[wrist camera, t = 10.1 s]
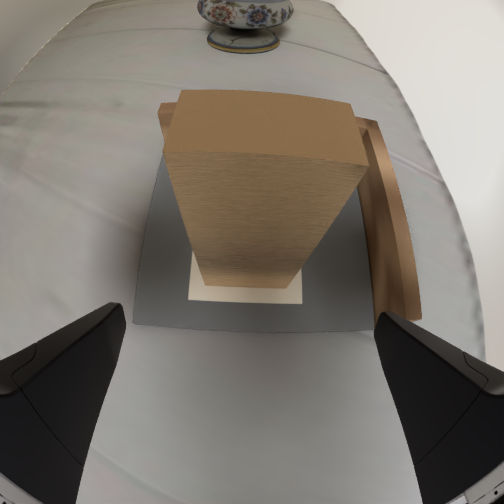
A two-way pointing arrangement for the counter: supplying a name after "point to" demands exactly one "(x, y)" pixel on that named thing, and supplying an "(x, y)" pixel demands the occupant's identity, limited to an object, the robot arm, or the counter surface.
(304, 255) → the wooden l-shaped block
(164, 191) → the mat
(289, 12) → the apothecary jar
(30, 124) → the counter surface
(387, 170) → the corner walls
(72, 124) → the counter surface
